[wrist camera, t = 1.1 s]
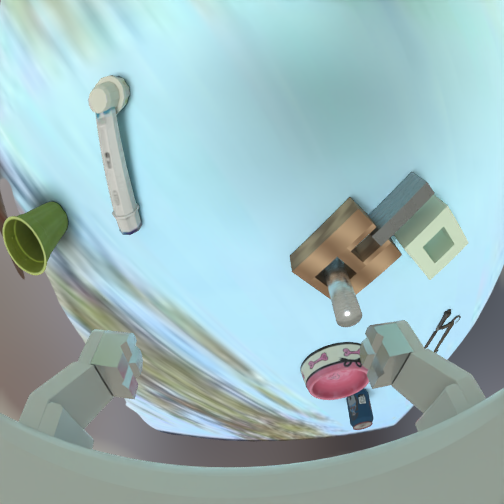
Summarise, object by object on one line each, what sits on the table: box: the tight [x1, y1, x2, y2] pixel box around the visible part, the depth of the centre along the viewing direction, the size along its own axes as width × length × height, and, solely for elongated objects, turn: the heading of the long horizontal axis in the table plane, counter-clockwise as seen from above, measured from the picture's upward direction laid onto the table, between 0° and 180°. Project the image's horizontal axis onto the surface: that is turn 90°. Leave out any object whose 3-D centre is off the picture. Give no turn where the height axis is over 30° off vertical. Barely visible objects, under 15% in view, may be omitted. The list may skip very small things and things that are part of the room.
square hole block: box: [394, 195, 468, 280], centre depth 39 cm, size 10×10×6 cm
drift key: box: [368, 172, 434, 246], centre depth 38 cm, size 12×2×5 cm, turn 142°
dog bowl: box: [301, 342, 369, 400], centre depth 60 cm, size 18×19×7 cm
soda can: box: [347, 389, 373, 430], centre depth 67 cm, size 7×7×12 cm
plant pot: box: [3, 202, 68, 275], centre depth 39 cm, size 12×12×11 cm
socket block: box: [290, 197, 402, 299], centre depth 43 cm, size 14×12×4 cm
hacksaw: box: [424, 310, 461, 353], centre depth 58 cm, size 24×10×2 cm, turn 0°
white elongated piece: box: [88, 75, 142, 235], centre depth 35 cm, size 5×7×25 cm
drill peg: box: [323, 257, 362, 327], centre depth 40 cm, size 4×4×14 cm
